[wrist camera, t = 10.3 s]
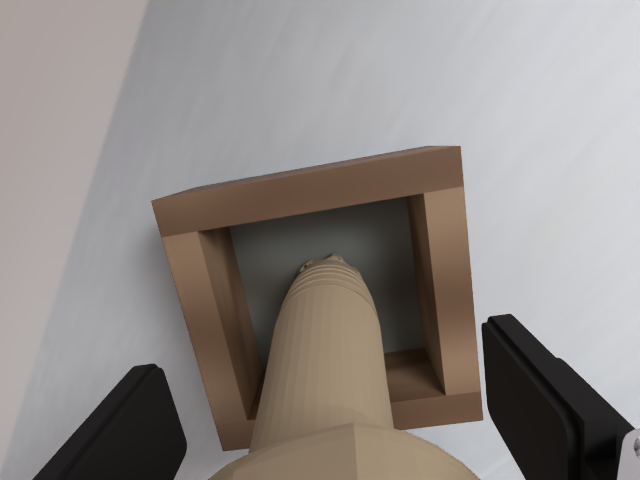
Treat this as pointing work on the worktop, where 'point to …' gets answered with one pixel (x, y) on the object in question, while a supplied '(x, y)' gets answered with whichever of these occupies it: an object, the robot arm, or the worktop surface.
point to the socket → (317, 243)
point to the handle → (332, 393)
